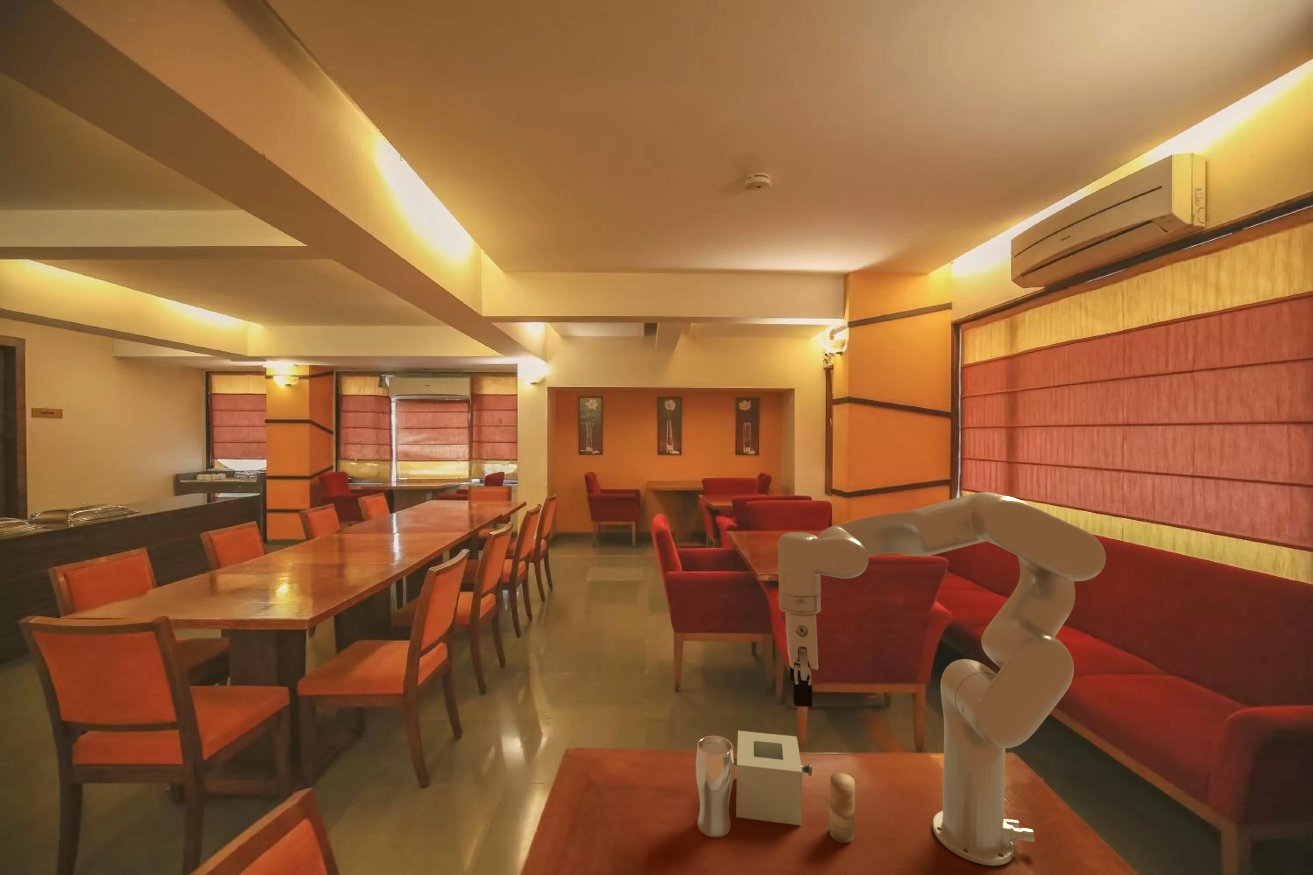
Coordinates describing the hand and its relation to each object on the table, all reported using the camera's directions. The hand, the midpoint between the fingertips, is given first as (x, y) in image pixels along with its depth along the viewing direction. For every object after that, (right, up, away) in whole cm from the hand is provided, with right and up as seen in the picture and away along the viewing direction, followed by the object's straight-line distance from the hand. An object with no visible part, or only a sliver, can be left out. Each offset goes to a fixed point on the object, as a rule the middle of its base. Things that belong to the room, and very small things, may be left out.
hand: (800, 692), depth 102 cm
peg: (+7, -25, -2) cm, 26 cm away
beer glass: (-16, -25, 0) cm, 30 cm away
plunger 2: (0, -19, +6) cm, 20 cm away
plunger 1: (-10, -19, +8) cm, 22 cm away
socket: (-5, -25, +7) cm, 26 cm away
